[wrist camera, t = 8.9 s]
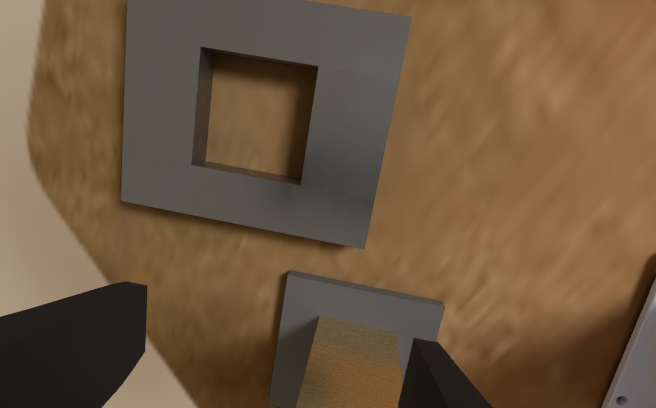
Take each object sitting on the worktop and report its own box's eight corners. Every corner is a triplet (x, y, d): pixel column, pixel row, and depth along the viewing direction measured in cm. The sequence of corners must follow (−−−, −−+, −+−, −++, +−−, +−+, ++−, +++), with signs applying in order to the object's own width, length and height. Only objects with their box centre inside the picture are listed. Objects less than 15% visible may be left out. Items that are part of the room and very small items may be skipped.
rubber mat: (408, 428, 21) (409, 437, 20) (270, 396, 22) (267, 404, 21) (442, 301, 19) (444, 307, 19) (290, 270, 20) (287, 275, 19)
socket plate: (364, 239, 19) (364, 249, 17) (139, 194, 20) (120, 200, 18) (408, 25, 16) (411, 17, 15) (148, -15, 17) (128, -27, 16)
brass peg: (381, 396, 20) (386, 539, 13) (308, 380, 20) (277, 512, 14) (396, 331, 19) (409, 449, 12) (319, 315, 19) (291, 422, 13)
